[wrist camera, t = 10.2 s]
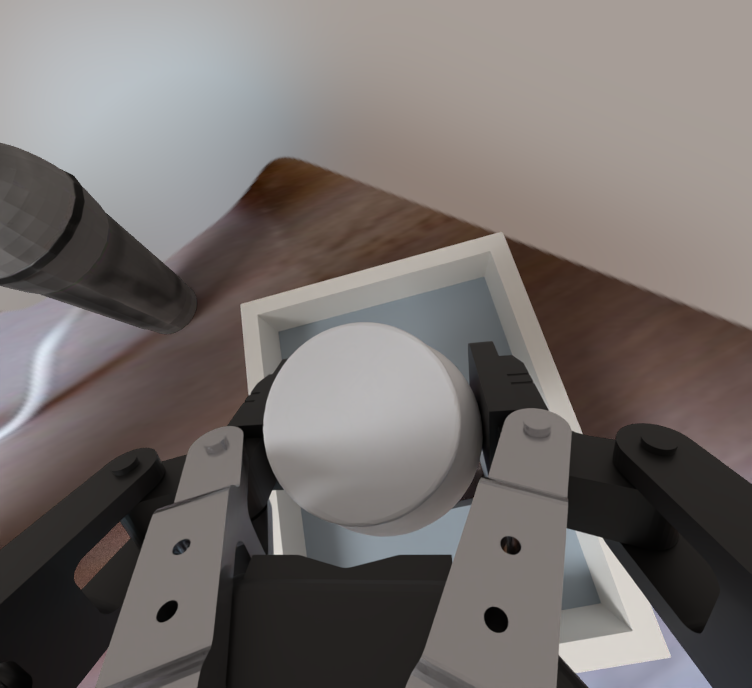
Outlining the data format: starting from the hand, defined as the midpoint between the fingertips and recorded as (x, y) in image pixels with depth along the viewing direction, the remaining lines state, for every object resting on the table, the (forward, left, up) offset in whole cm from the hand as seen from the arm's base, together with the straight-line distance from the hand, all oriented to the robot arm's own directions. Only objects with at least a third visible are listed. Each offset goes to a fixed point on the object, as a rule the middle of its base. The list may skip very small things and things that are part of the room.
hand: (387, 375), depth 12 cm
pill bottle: (0, -2, -4) cm, 5 cm away
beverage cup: (-17, +13, -13) cm, 26 cm away
